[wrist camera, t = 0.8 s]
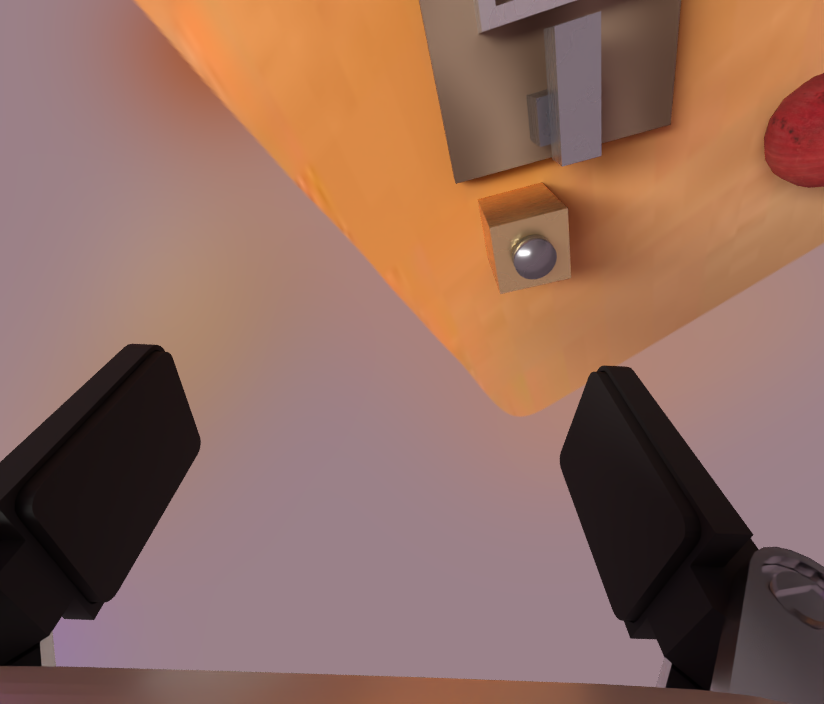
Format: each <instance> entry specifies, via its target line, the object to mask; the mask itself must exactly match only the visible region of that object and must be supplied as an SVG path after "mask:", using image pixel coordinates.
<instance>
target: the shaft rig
mask: <svg viewBox="0 0 824 704" xmlns="http://www.w3.org/2000/svg"><path fill="white" fill-rule="evenodd" d="M473 1H474V8H475V15H476V22H477V29H478V34H479V33H482V32H485V31H488V30H491V29H494V28H497V27H500V26H503V25H506V24H509V23H512V22H515V21H518V20H521V19H524V18H527V17H530V16H533V15H536V14H539V13H542V12H545V11H548V10H551V9H554V8H557V7H560V6H563V5H566V4H569V3H572V2H575V1H578V0H513V1H510V2H507V3H504V4H501V5H498V6H496V4H495V0H473ZM543 30H544V45H545V60H546V75H547V89H546V90H542V91H539V92H536V93H532V94H529V95H526V97H527V108H528V119H529V130H530V140H531V141H532V142H534V143H535V144H536V145H538V146H539V147H542V146H546V145H550V144H551V149H552V159H553V160H554V161H555V162H557V163H558V164H559V165H561V166H566V165H569V164H573V163H577V162H580V161H584V160H588V159H591V158H595V157H599V156H601V11H600V12H596V13H593V14H589V15H586V16H583V17H580V18H577V19H574V20H571V21H568V22H564V23H561V24H558V25H555V26H552V27H549V28H546V29H543Z"/></svg>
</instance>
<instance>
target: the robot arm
mask: <svg viewBox="0 0 824 704" xmlns="http://www.w3.org/2000/svg"><path fill="white" fill-rule="evenodd" d="M200 442H201V441H200V436H199V433H198V430H197V427H196V424H195V421H194V418H193V416H192V413H191V410H190V407H189V404H188V401H187V398H186V395H185V392H184V390H183V387H182V384H181V381H180V378H179V375H178V372H177V369H176V366H175V364H174V360H173V358H172V356H171V354H170V353H168V352H165V351H164V349H163V348H162V347H161V346H159V345H147V344H146V345H145V344H129V345H127V346H126V347H124V348H123V349H122V350H121V351H120V352H119V353H118V354H117V355H115V357H113V358H112V359H111V360H110V361H109V362H108V363H107V364H106V365H105V366H104V367H103V368H101V369H100V370H99V371H98V372H97V373H96V374H95V375H94V376H93V377H92V378H91V379H90V380H88V381H87V382H86V383H85V384H84V385H83V386H82V387H81V388H80V389H79V390H78V391H77V392H76V393H74V394H73V395H72V396H71V397H70V398H69V399H68V400H67V401H66V402H65V403H64V404H63V405H61V406H60V408H58V409H57V410H56V411H55V412H54V413H53V414H52V415H51V416H50V417H49V418H47V419H46V420H45V421H44V422H43V423H42V424H41V425H40V426H39V427H38V428H37V429H36V430H35V431H33V432H32V433H31V434H30V435H29V436H28V437H27V438H26V439H25V440H24V441H23V442H22V443H21V444H19V445H18V446H17V447H16V448H15V449H14V450H13V451H12V452H11V453H10V454H9V455H7V456H6V457H5V458H4V460H2V461H1V462H0V704H824V567H823V566H821V565H820V564H818V563H817V562H815V561H814V560H812V559H810V558H808V557H806V556H804V555H801V554H799V553H797V552H794V551H792V550H788V549H784V548H779V547H763V548H761V549H760V550H759V549H758V548H757V547H756V545H755V544H754V542H753V541H752V540H751V537H752V536H753V534H752V532H751V531H750V529H749V528H748V527H747V525H746V524H745V523H744V521H743V520H742V519H741V517H740V516H739V514H738V513H737V512H736V510H735V509H734V508H733V506H732V505H731V504H730V502H729V501H728V499H727V498H726V497H725V495H724V494H723V493H722V491H721V490H720V488H719V487H718V486H717V484H716V483H715V482H714V480H713V479H712V478H711V476H710V475H709V473H708V472H707V471H706V469H705V468H704V467H703V465H702V464H701V462H700V461H699V460H698V459H697V457H696V456H695V454H694V453H693V452H692V450H691V449H690V447H689V446H688V445H687V443H686V442H685V441H684V439H683V438H682V436H681V435H680V434H679V432H678V431H677V430H676V428H675V427H674V426H673V424H672V423H671V421H670V420H669V419H668V417H667V416H666V415H665V413H664V412H663V411H662V409H661V408H660V406H659V405H658V404H657V402H656V401H655V400H654V398H653V397H652V396H651V394H650V393H649V391H648V390H647V389H646V387H645V386H644V385H643V383H642V382H641V380H640V379H639V378H638V376H637V375H636V374H635V372H634V371H633V370H632V369H631V368H629V367H622V366H621V367H620V366H601V367H600V368H599V369H598V370H597V372H592V373H591V374H590V375H589V378H588V380H587V383H586V386H585V388H584V391H583V394H582V397H581V399H580V402H579V405H578V407H577V410H576V413H575V416H574V418H573V421H572V424H571V426H570V429H569V432H568V434H567V437H566V440H565V443H564V445H563V448H562V451H561V454H560V466H561V469H562V472H563V475H564V478H565V481H566V484H567V486H568V489H569V492H570V495H571V497H572V500H573V503H574V506H575V508H576V511H577V514H578V517H579V519H580V522H581V525H582V528H583V530H584V533H585V536H586V539H587V541H588V544H589V547H590V550H591V552H592V555H593V558H594V560H595V563H596V566H597V569H598V571H599V574H600V577H601V579H602V582H603V585H604V588H605V591H606V593H607V596H608V599H609V602H610V604H611V607H612V609H613V612H614V614H615V615H616V617H617V618H618V619H619V620H623V621H624V622H625V625H626V628H627V630H628V633H629V636H630V638H634V639H635V638H636V639H657V641H658V643H659V646H660V648H661V650H662V652H663V655H664V661H663V664H662V668H661V671H660V674H659V678H658V681H657V685H656V687H642V686H624V685H607V684H585V683H558V682H533V681H532V682H531V681H505V680H478V679H451V678H425V677H393V676H364V675H334V674H303V673H302V674H301V673H271V672H239V671H205V670H167V669H132V668H131V669H130V668H95V667H56V662H55V653H54V642H53V632H52V630H53V629H54V627H55V626H56V624H57V623H58V621H59V620H60V618H61V617H63V618H64V619H82V620H94V619H95V617H96V616H97V614H98V612H99V610H100V609H101V607H102V606H103V604H104V602H108V601H110V600H111V599H112V598H113V597H114V596H115V595H116V593H117V592H118V590H119V589H120V587H121V585H122V583H123V581H124V580H125V578H126V577H127V575H128V573H129V571H130V570H131V568H132V566H133V564H134V563H135V561H136V559H137V558H138V556H139V554H140V552H141V551H142V549H143V547H144V546H145V544H146V542H147V540H148V539H149V537H150V535H151V534H152V532H153V530H154V528H155V527H156V525H157V523H158V521H159V520H160V518H161V516H162V515H163V513H164V511H165V509H166V508H167V506H168V504H169V503H170V501H171V499H172V497H173V495H174V494H175V492H176V490H177V489H178V487H179V485H180V483H181V482H182V480H183V478H184V477H185V475H186V473H187V471H188V469H189V468H190V466H191V465H192V463H193V461H194V459H195V458H196V456H197V454H198V452H199V449H200Z"/></svg>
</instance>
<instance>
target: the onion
mask: <svg viewBox="0 0 824 704" xmlns="http://www.w3.org/2000/svg"><path fill="white" fill-rule="evenodd" d="M764 148H765V160H766V162H767V163H768V165H769V167H770V168H771V170H772V172H773V173H774V174H776V175H777V176H779V177H780V178H782V179H784V180H786V181H788V182H791V183H793V184H795V185H797V186H802V187H808V188H810V187H821V186H824V73H823V74H821V75H818V76H815V77H813V78H812V79H810V80H809V81H807V82H805V83H804V84H803V85H801V86H800V87H799V88H797V89H796V90H795V91H794V92H792V93H791V94H790V95H789V96H787V97H786V98H785V99H784V100H783V101H782V102H781V104H780V105H779V107H778V108H777V110H776V111H775V113H774V114H773V115H772V117H771V118H770V120H769V124H768V127H767V130H766V133H765V137H764Z"/></svg>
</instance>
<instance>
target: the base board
mask: <svg viewBox="0 0 824 704" xmlns="http://www.w3.org/2000/svg"><path fill="white" fill-rule="evenodd" d="M510 1H513V0H495V4H496V6H498V5H501V4H504V3H507V2H510ZM419 3H420V8H421V13H422V18H423V23H424V28H425V33H426V38H427V43H428V48H429V53H430V58H431V64H432V69H433V74H434V79H435V84H436V89H437V94H438V99H439V104H440V109H441V114H442V119H443V124H444V129H445V134H446V139H447V144H448V149H449V154H450V159H451V164H452V169H453V174H454V179H455V183H456V184H457V183H460V182H464V181H467V180H471V179H475V178H478V177H482V176H486V175H489V174H493V173H496V172H500V171H504V170H507V169H511V168H515V167H518V166H522V165H525V164H529V163H533V162H536V161H540V160H544V159H547V158H551V157H552V149H551V144H550V145H546V146H542V147H539V146H538V145H536V144H535V143H534V142H532V141H531V140H530V130H529V119H528V108H527V97H526V95H529V94H532V93H536V92H539V91H542V90H546V89H547V75H546V60H545V45H544V30H543V29H546V28H549V27H552V26H555V25H558V24H561V23H564V22H568V21H571V20H574V19H577V18H580V17H583V16H586V15H589V14H593V13H596V12H600V11H601V143H605V142H609V141H612V140H616V139H620V138H623V137H627V136H630V135H634V134H638V133H641V132H645V131H649V130H652V129H656V128H659V127H663V126H667V125H670V124H671V115H672V102H673V90H674V78H675V66H676V54H677V42H678V30H679V18H680V6H681V0H578V1H575V2H572V3H569V4H566V5H563V6H560V7H557V8H554V9H551V10H548V11H545V12H542V13H539V14H536V15H533V16H530V17H527V18H524V19H521V20H518V21H515V22H512V23H509V24H506V25H503V26H500V27H497V28H494V29H491V30H488V31H485V32H482V33H479V34H478V29H477V22H476V15H475V8H474V1H473V0H419Z"/></svg>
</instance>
